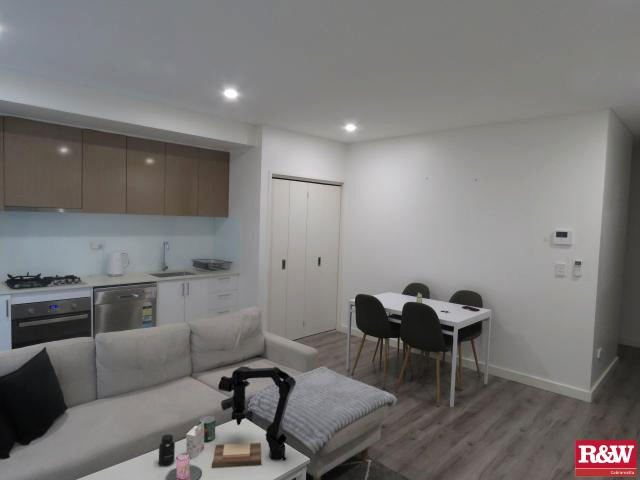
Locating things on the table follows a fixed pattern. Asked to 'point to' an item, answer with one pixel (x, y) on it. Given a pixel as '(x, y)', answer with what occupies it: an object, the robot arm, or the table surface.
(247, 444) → the kraft carton
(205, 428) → the canned tomato
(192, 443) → the ink cartridge box
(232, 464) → the display board
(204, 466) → the table surface
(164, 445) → the supplement bottle
